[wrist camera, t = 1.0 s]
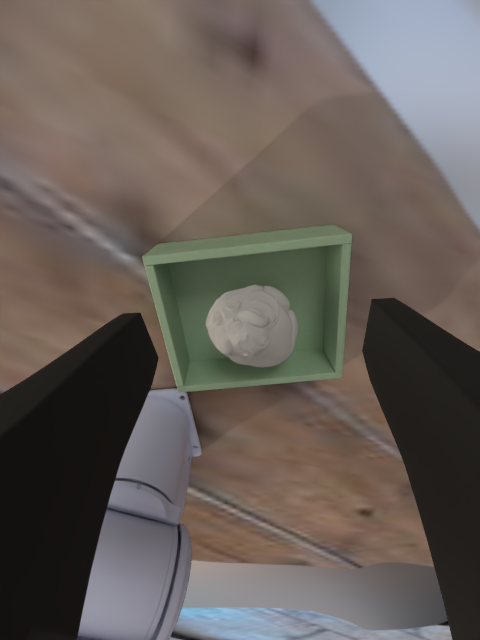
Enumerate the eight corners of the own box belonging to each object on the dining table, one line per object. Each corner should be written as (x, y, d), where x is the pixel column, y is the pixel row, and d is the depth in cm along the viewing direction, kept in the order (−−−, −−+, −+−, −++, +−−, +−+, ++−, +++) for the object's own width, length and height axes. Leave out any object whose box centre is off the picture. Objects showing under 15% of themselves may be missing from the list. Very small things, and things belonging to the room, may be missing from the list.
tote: (328, 351, 26) (342, 378, 22) (185, 364, 26) (178, 392, 23) (333, 224, 21) (352, 233, 17) (156, 244, 21) (141, 256, 18)
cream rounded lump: (250, 247, 21) (255, 277, 15) (306, 310, 23) (331, 358, 17) (194, 298, 23) (178, 344, 17) (251, 351, 25) (256, 408, 19)
